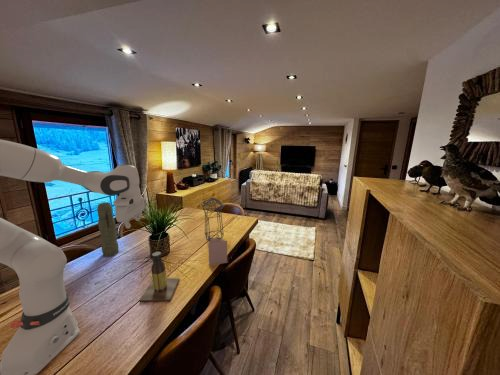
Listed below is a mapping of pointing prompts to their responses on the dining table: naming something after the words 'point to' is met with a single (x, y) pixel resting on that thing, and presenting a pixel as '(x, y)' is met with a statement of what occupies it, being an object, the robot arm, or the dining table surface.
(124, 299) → the dining table surface
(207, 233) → the geometric lantern
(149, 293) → the walnut board
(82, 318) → the dining table surface
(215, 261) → the greeting card
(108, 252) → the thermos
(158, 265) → the sauce bottle
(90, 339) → the dining table surface
